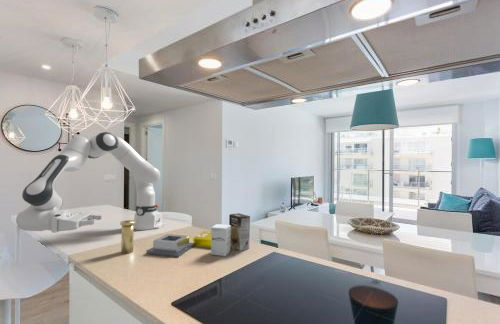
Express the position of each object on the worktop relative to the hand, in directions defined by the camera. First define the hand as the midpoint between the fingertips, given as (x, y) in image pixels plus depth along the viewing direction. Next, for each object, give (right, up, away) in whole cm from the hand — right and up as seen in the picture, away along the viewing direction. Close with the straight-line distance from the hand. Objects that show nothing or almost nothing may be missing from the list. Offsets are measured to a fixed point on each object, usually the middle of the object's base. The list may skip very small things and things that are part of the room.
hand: (97, 219), depth 115 cm
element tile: (+49, -17, +19) cm, 55 cm away
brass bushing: (+12, -16, +3) cm, 20 cm away
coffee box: (+63, -17, +12) cm, 66 cm away
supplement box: (+55, -16, +3) cm, 58 cm away
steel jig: (+31, -16, +7) cm, 36 cm away
